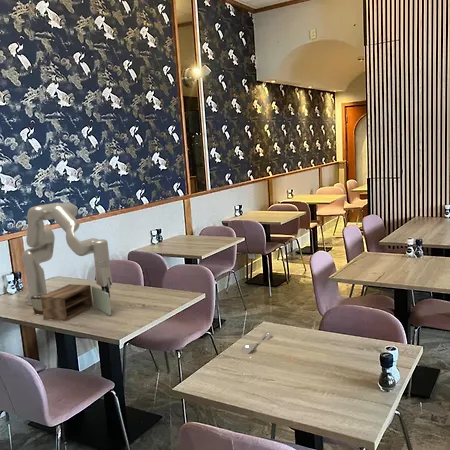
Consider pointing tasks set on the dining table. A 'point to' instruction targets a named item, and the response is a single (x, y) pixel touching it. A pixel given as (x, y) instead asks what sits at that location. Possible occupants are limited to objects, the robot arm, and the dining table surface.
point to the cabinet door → (101, 300)
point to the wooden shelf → (66, 302)
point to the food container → (37, 303)
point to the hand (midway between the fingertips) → (106, 297)
